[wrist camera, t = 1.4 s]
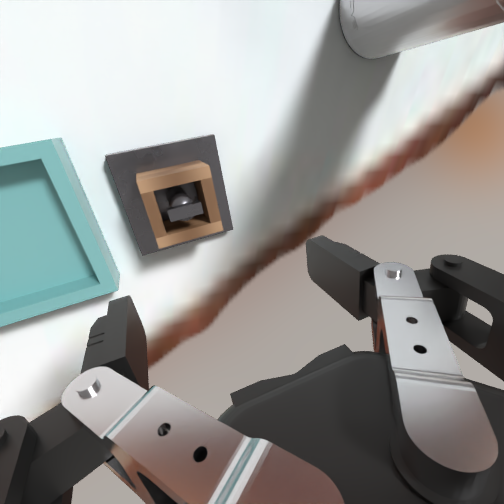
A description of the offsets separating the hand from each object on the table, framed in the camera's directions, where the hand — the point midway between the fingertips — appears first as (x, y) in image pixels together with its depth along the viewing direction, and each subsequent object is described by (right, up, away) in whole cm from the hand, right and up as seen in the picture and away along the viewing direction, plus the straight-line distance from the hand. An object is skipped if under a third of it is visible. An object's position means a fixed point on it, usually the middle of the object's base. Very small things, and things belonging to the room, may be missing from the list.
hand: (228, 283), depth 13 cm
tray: (-21, +3, +13) cm, 25 cm away
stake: (-7, +7, +17) cm, 20 cm away
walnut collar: (-6, +7, +16) cm, 19 cm away
